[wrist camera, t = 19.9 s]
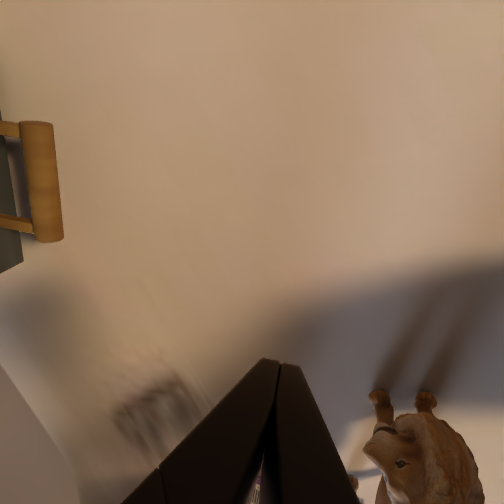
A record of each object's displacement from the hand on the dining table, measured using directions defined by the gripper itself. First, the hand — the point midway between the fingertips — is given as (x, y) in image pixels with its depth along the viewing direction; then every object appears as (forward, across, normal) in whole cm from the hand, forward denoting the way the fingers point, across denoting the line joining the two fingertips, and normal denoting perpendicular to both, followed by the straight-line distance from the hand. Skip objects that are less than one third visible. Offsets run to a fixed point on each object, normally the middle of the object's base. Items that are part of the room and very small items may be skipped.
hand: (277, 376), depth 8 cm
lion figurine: (+12, -8, +13) cm, 19 cm away
